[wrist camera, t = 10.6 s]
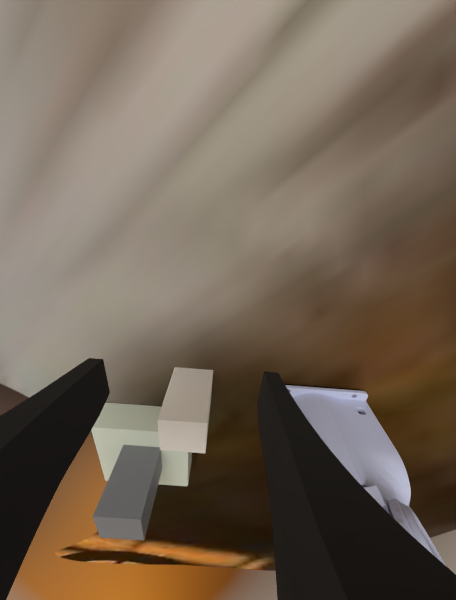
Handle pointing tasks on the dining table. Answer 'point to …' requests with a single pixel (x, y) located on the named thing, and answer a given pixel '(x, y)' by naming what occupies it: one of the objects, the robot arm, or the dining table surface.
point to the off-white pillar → (186, 411)
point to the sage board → (136, 440)
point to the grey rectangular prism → (129, 494)
